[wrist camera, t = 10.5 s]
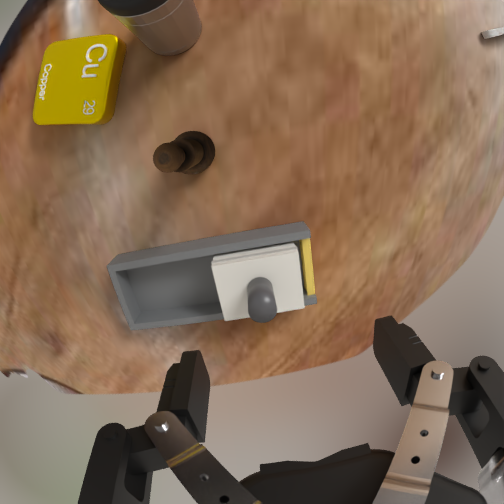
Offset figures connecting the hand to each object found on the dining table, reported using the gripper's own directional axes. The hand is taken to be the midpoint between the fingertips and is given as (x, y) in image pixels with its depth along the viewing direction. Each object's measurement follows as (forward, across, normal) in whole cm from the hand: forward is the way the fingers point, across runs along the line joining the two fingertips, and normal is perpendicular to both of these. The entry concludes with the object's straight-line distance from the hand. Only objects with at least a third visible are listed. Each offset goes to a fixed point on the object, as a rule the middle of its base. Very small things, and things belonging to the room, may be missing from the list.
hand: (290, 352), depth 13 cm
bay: (+36, +9, +11) cm, 39 cm away
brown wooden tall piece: (+36, +8, -9) cm, 38 cm away
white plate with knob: (+35, +2, +11) cm, 37 cm away
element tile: (+37, +25, -26) cm, 52 cm away
